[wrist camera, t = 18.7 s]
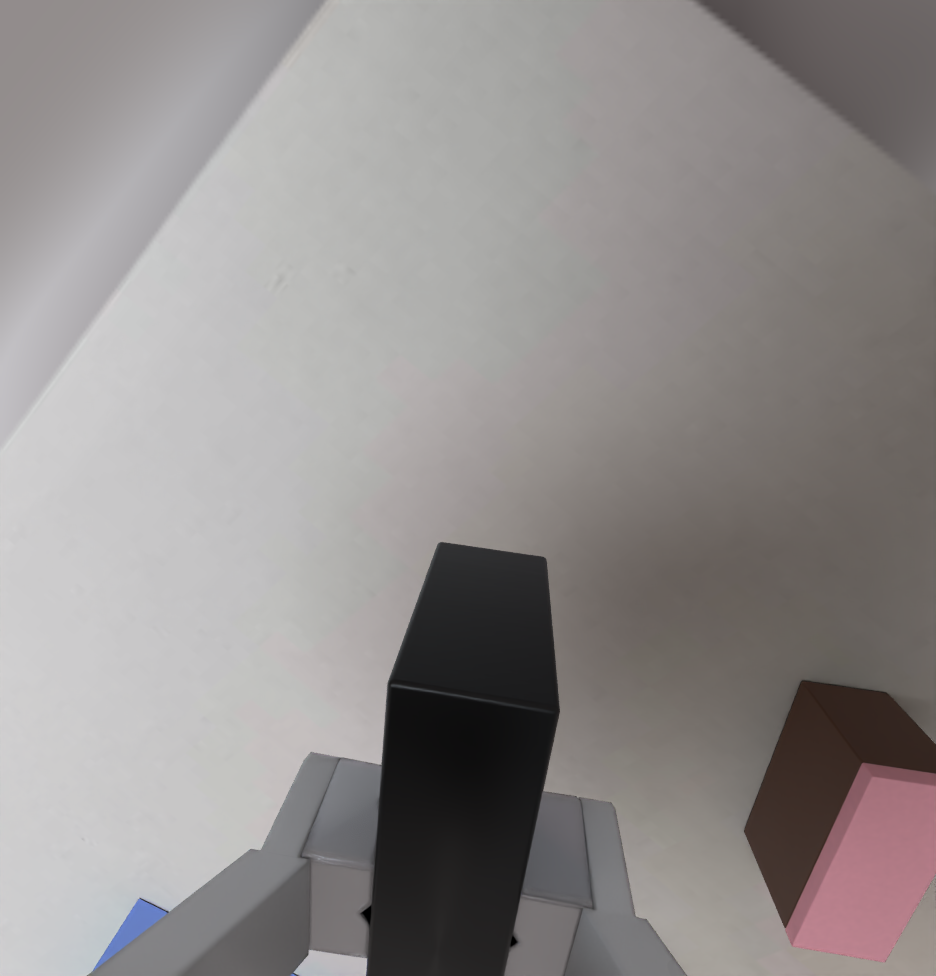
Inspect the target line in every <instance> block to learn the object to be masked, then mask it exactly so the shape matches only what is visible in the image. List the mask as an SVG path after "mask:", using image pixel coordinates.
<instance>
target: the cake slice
mask: <svg viewBox="0 0 936 976" xmlns="http://www.w3.org/2000/svg"><path fill="white" fill-rule="evenodd" d="M744 832H745V835H746V837H747V840H748V842H749V844H750V847H751V849H752V851H753V854H754V856H755V859H756V861H757V863H758V866H759V868H760V870H761V873H762V875H763V878H764V880H765V882H766V885H767V887H768V889H769V892H770V894H771V897H772V899H773V901H774V904H775V906H776V909H777V911H778V913H779V916H780V918H781V920H782V923H783V925H784V927H785V928H786V929H785V930H786V933H787V935H788V938H789V940H790V943H791V945H792V946H793V947H798V948H804V949H809V950H815V951H821V952H827V953H833V954H839V955H844V956H850V957H856V958H862V959H868V960H874V961H879V962H885V961H886V960H887V958H888V956H889V954H890V953H891V951H892V949H893V947H894V946H895V944H896V942H897V941H898V939H899V937H900V935H901V934H902V932H903V930H904V928H905V927H906V925H907V923H908V921H909V920H910V918H911V916H912V914H913V913H914V911H915V909H916V907H917V906H918V904H919V902H920V901H921V899H922V897H923V895H924V894H925V892H926V890H927V888H928V887H929V885H930V883H931V881H932V880H933V878H934V876H935V874H936V744H935V743H934V742H933V741H932V740H931V739H930V738H929V737H928V736H927V735H926V734H925V733H924V731H923V730H922V729H921V728H920V727H919V726H918V725H917V724H916V723H915V722H914V721H913V720H912V719H911V718H910V717H909V715H908V714H907V713H906V712H905V711H904V710H903V709H902V708H901V707H900V706H899V705H898V704H897V703H896V702H895V701H894V699H893V698H892V697H891V696H890V695H889V694H887V693H883V692H876V691H869V690H862V689H855V688H848V687H841V686H834V685H827V684H820V683H813V682H806V681H802V682H801V684H800V687H799V690H798V692H797V695H796V697H795V700H794V703H793V705H792V708H791V710H790V713H789V715H788V718H787V721H786V723H785V726H784V728H783V731H782V734H781V736H780V739H779V741H778V744H777V747H776V749H775V752H774V754H773V757H772V760H771V762H770V765H769V767H768V770H767V773H766V775H765V778H764V780H763V783H762V786H761V788H760V791H759V793H758V796H757V799H756V801H755V804H754V806H753V809H752V812H751V814H750V817H749V819H748V822H747V825H746V827H745V830H744Z"/></svg>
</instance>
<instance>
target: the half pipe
mask: <svg viewBox="0 0 936 976" xmlns="http://www.w3.org/2000/svg"><path fill="white" fill-rule="evenodd" d="M166 914H167V912H165V911H163V910H161V909H159V908H157V907H155V906H153V905H151V904H149V903H147V902H145V901H143V900H141V899H138V901H137V902H136V904H135V906H134V907H133V909H132V910H131V912H130V913H129V915H128V916H127V918H126V920H125V921H124V923H123V924H122V926H121V927H120V929H119V930H118V932H117V934H116V935H115V937H114V938H113V940H112V941H111V943H110V945H109V946H108V948H107V949H106V951H105V952H104V954H103V955H102V957H101V959H100V960H99V962H98V963H97V965H96V966H95V968H94V970H95V969H96V968H98V967H99V966H100V965H102V964H103V963H104V962H105V961H107V960H108V959H109V958H111V957H112V956H113V955H114V954H116V953H117V952H118V951H120V950H121V949H122V948H123V947H125V946H126V945H127V944H129V943H130V942H131V941H133V940H134V939H135V938H136V937H138V936H139V935H140V934H142V933H143V932H144V931H145V930H147V929H148V928H149V927H151V926H152V925H153V924H154V923H156V922H157V921H158V920H160V919H161V918H162V917H164V916H165V915H166ZM94 970H93V971H94ZM93 971H92V972H93ZM290 976H296V975H294V974H291V975H290Z"/></svg>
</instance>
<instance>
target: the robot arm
mask: <svg viewBox="0 0 936 976" xmlns="http://www.w3.org/2000/svg"><path fill="white" fill-rule="evenodd" d="M381 767H382V765H378V764H373V763H368V762H363V761H358V760H353V759H348V758H341V757H335V756H330V755H325V754H319V753H314V752H311V753H310V754H309V755H308V756H307V757H306V758H305V760H304V761H303V763H302V765H301V767H300V769H299V771H298V774H297V776H296V778H295V780H294V782H293V784H292V786H291V788H290V790H289V792H288V794H287V797H286V799H285V801H284V803H283V805H282V807H281V809H280V811H279V813H278V815H277V817H276V820H275V822H274V824H273V826H272V828H271V830H270V832H269V834H268V836H267V838H266V840H265V842H264V845H263V847H262V849H261V850H255V849H250V850H249V851H247V852H246V853H245V854H244V855H242V856H241V857H240V858H238V859H237V860H236V861H235V862H233V863H232V864H231V865H229V866H228V867H227V868H225V869H224V870H223V871H222V872H220V873H219V874H218V875H216V876H215V877H214V878H213V879H211V880H210V881H209V882H207V883H206V884H205V885H204V886H202V887H201V888H200V889H198V890H197V891H196V892H194V893H193V894H192V895H191V896H189V897H188V898H187V899H185V900H184V901H183V902H182V903H180V904H179V905H178V906H176V907H175V908H174V909H173V910H171V911H170V912H169V913H167V914H166V915H165V916H164V917H162V918H161V919H160V920H158V921H157V922H156V923H154V924H153V925H152V926H151V927H149V928H148V929H147V930H145V931H144V932H143V933H142V934H140V935H139V936H138V937H136V938H135V939H134V940H133V941H131V942H130V943H129V944H127V945H126V946H125V947H123V948H122V949H121V950H120V951H118V952H117V953H116V954H114V955H113V956H112V957H111V958H109V959H108V960H107V961H105V962H104V963H103V964H102V965H100V966H99V967H98V968H96V969H95V970H94V971H93V972H91V973H90V974H89V975H87V976H290V975H291V974H292V973H293V972H294V971H295V970H296V968H297V967H298V966H299V965H300V964H301V963H302V961H303V960H304V959H305V958H306V957H307V956H308V950H316V951H322V952H329V953H335V954H342V955H348V956H355V957H362V958H368V945H369V931H370V918H371V904H372V890H373V877H374V863H375V849H376V836H377V822H378V808H379V794H380V781H381ZM504 976H687V975H686V974H685V972H684V971H683V969H682V968H681V967H680V965H679V964H678V963H677V961H676V960H675V958H674V957H673V956H672V954H671V953H670V951H669V950H668V949H667V947H666V946H665V944H664V943H663V942H662V940H661V939H660V937H659V936H658V935H657V933H656V932H655V930H654V929H653V928H652V926H651V925H650V924H649V922H648V921H647V919H642V918H638V917H636V916H635V911H634V905H633V900H632V895H631V890H630V884H629V879H628V874H627V868H626V863H625V858H624V852H623V847H622V842H621V836H620V831H619V826H618V821H617V815H616V810H615V808H614V806H613V804H612V803H611V802H605V801H599V800H593V799H587V798H581V797H579V798H578V797H577V796H571V795H564V794H558V793H551V792H545V791H543V794H542V798H541V803H540V808H539V812H538V817H537V822H536V827H535V831H534V836H533V841H532V846H531V850H530V855H529V860H528V864H527V869H526V874H525V879H524V883H523V888H522V893H521V898H520V902H519V907H518V912H517V916H516V921H515V926H514V931H513V935H512V940H511V945H510V950H509V954H508V959H507V964H506V968H505V973H504Z"/></svg>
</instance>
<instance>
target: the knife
mask: <svg viewBox="0 0 936 976" xmlns="http://www.w3.org/2000/svg"><path fill="white" fill-rule="evenodd" d="M559 713H560V706H559V694H558V683H557V672H556V660H555V649H554V638H553V626H552V615H551V604H550V592H549V581H548V570H547V561H546V558H544V557H541V556H534V555H527V554H520V553H513V552H506V551H500V550H493V549H486V548H479V547H472V546H465V545H458V544H451V543H444V542H440V543H438V545H437V547H436V550H435V553H434V556H433V558H432V561H431V564H430V567H429V570H428V572H427V575H426V578H425V581H424V583H423V586H422V589H421V592H420V595H419V597H418V600H417V603H416V606H415V609H414V611H413V614H412V617H411V620H410V622H409V625H408V628H407V631H406V634H405V636H404V639H403V642H402V645H401V647H400V650H399V653H398V656H397V659H396V661H395V664H394V667H393V670H392V673H391V675H390V678H389V681H388V685H387V699H386V712H385V726H384V740H383V753H382V767H381V781H380V794H379V808H378V822H377V836H376V849H375V863H374V877H373V890H372V904H371V918H370V931H369V945H368V959H367V972H366V976H504V973H505V968H506V964H507V959H508V954H509V950H510V945H511V940H512V935H513V931H514V926H515V921H516V916H517V912H518V907H519V902H520V898H521V893H522V888H523V883H524V879H525V874H526V869H527V864H528V860H529V855H530V850H531V846H532V841H533V836H534V831H535V827H536V822H537V817H538V812H539V808H540V803H541V798H542V794H543V789H544V784H545V779H546V775H547V770H548V765H549V760H550V756H551V751H552V746H553V742H554V737H555V732H556V727H557V723H558V718H559Z"/></svg>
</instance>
